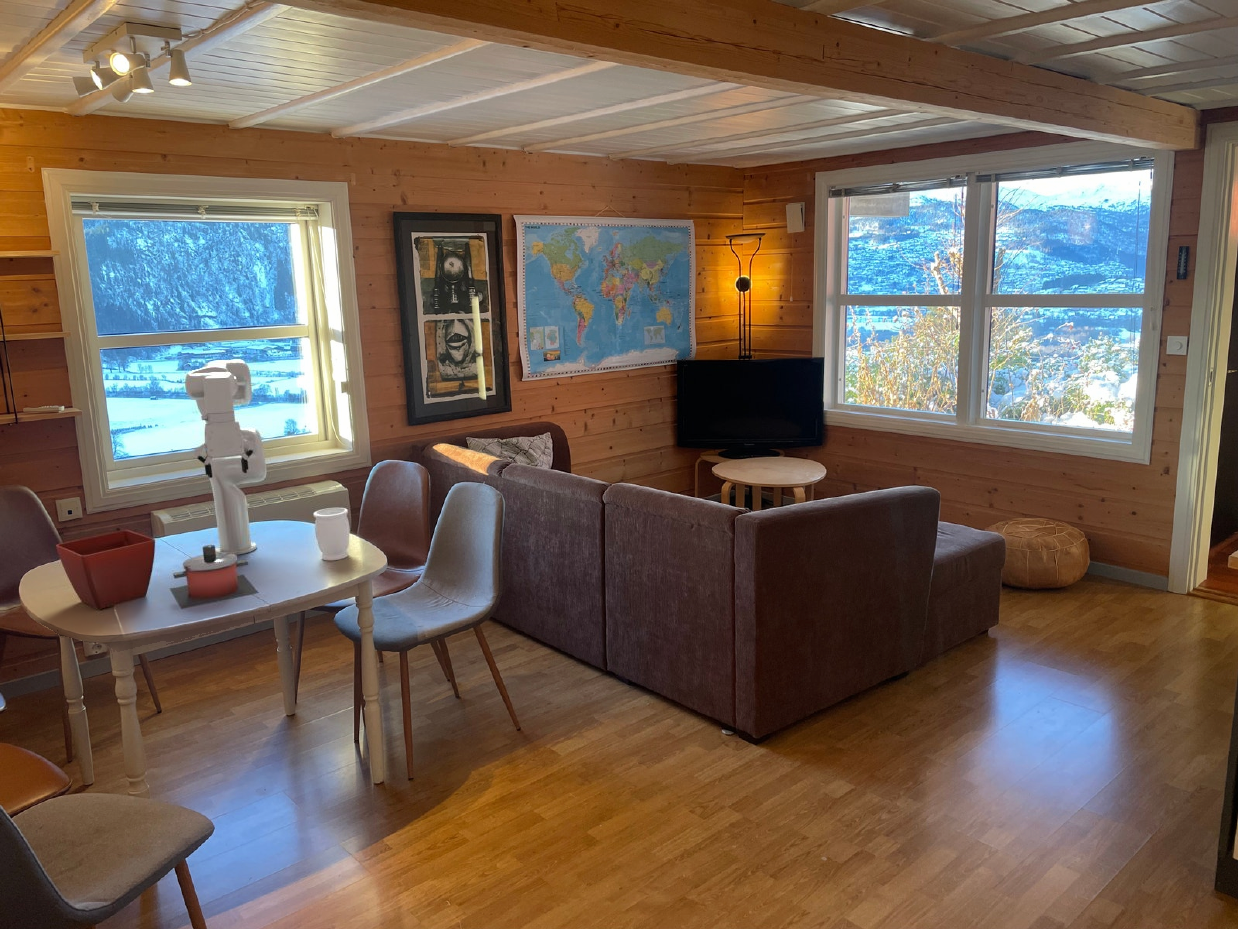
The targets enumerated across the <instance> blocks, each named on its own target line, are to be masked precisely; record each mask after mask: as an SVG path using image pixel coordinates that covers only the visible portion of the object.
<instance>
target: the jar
mask: <svg viewBox="0 0 1238 929" xmlns="http://www.w3.org/2000/svg"><path fill="white" fill-rule="evenodd" d="M347 515H348V509H347V508H345V507H327V508H323V509H319V510H316V511H314V512H313V517H314V518H315V522H314V531H315V532H314V534H315V537H316V540H317V545H318V548H319V551H320V552H321V556H320V557H321V560H324V561H339V560H343V559H346V558H347V557H348V556H349V552H348V551H347V550H348V548H349V546H350V545H349V544H350V532H351V530H350V522H349V519H348V516H347Z"/></svg>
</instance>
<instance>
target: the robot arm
mask: <svg viewBox="0 0 1238 929" xmlns="http://www.w3.org/2000/svg"><path fill="white" fill-rule="evenodd" d="M184 383H185V384H184V386H185V387H184V388H185V392H186V394H187V396H188V397H189V399H191V400H195V402H196V406H197V409H198V411H199V413H200V415H201V417H200V419H201V421H205V423H204V424H205V425H204V443H203V444H201V445H200V446H198V447H196V448H195V449H193V450H192V454H193V455H194V456H195V458H196V459H197V460H198V461H199V462H201V463H203V465H204V471H205V473H204V474H205V475H206V476H208V478H209V482H210V485H211V489H212V496H213V501H214V510H215V517H216V519H215V520H216V525H217V533H218V541H219V542H218V543H219V545H218V546H217V547H215V551H216V553H231V554H235V555H236V556H238V555H242V554H247V553H250V552H253V551H255V550H257V543H255V542H254V541H253V542H252V538H251V530H250V522H249V521H250V520H249V513H248V502H247V498H246V495H245V493H244V492H243V491H242V489H240V488H238V487H237V486H238V485H241V484H250V483H251V484H253V483H259V482H262V481H264V480H265V478H266V476H267V473H268V472H267V470H268V469H267V463H266V456H265V452H264V446H263V439H262V436H261V433H260V431H259V430H258V429H256V428H253V427H246V428H245V427H244V428H241V425H240V422H239V421H238V420H236V417H235V416H236V415H235V407H234V406H240V405H241V406H243V405H248V404H249V403H250V402H251V401H252V399H253V398H252V397H253V391H252V390H253V389H252V387H253V386H252V376H251V370H250V367H249V365H248V363H247V362H246V361H244V360H242V359H230V360H229V359H227V360H213V361H209V362H207V363H205V364H204V365H203V366H202V368H199V369H195V370H192V371H191V370H190V371H189V372H187V373H186V376H185V380H184ZM202 451H205V454H206V455H205V457H203V456H202V455H201V452H202Z"/></svg>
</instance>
